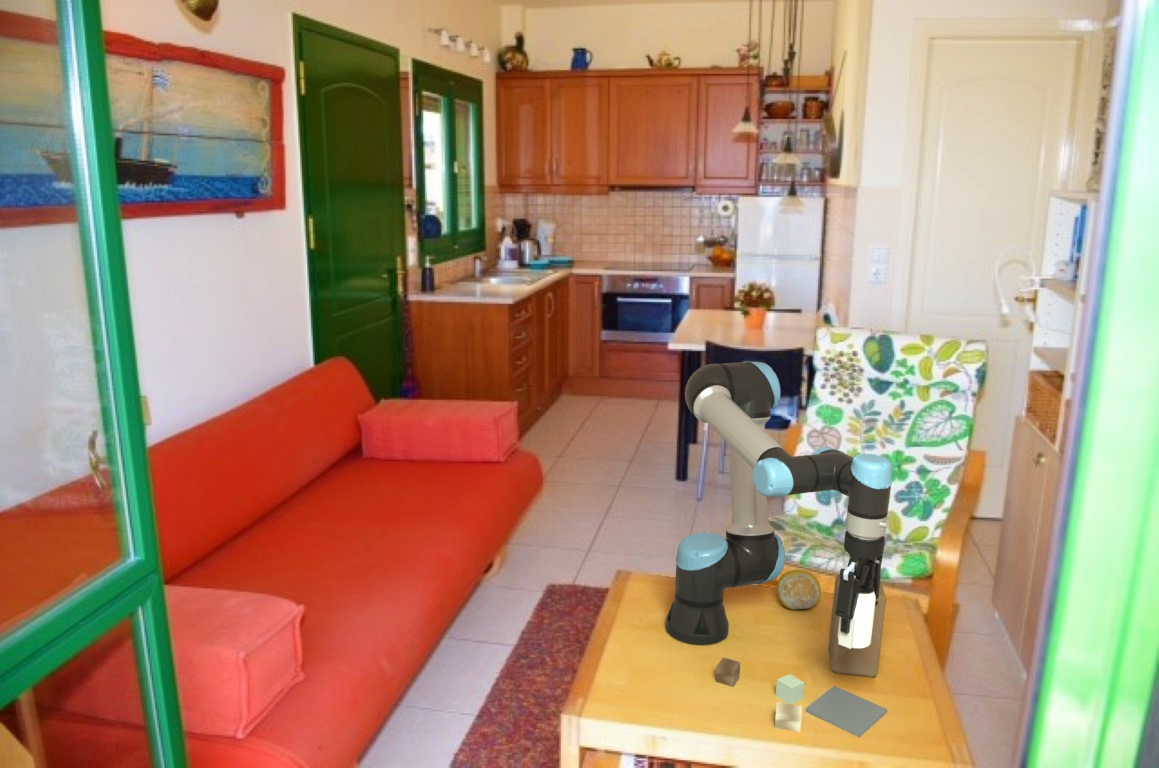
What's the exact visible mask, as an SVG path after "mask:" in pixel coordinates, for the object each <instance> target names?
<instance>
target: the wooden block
mask: <svg viewBox="0 0 1159 768" xmlns="http://www.w3.org/2000/svg"><path fill="white" fill-rule="evenodd" d="M855 580H858V579H855ZM858 581H859V580H858ZM839 584H840V573H838V574H837V575H836V577H835V580H834V590H833V600H832V601H833V602H832V609H831V619H830V629H829V632H830V633H829V640H828V649H827V650H828V656H829V663H830V669H831V671H832V672H834V673H837V674H847V675H854V676H861V677H862V676H863V677H868V678H869V677H870V678H875V677H877V675H878V671H879V664H880V663H879V662H880V656H881V646H882V637H883V629H884V628H883V627H884V621H885V613H886V612H885V610H886V603H887V598H886V594H885V591H884V587H883V583H882V581H881V579H880V587H879V597H878V599H875V601H878V604H877V606H875V609H874V619H873V628H872V636H871V643H870V645H869V646H868V647H866V648H864V649H853V648H851V649H849V648H847V647H844V646H842V645H840V644H838V641H839V640H838V627H839V616H837V615H835V612H836V605H837V598H838V591H839Z"/></svg>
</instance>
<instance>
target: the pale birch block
mask: <svg viewBox="0 0 1159 768" xmlns="http://www.w3.org/2000/svg"><path fill="white" fill-rule="evenodd" d="M802 717H803V706H802V705H798V704H787V703H786V702H785V703H784V702H778V701H777V702H776V706H775V717H774V718H775V719H774V729H780V730H784V731H785V730H786V731H791V732H797V733H801V727H802Z"/></svg>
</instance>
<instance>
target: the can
mask: <svg viewBox="0 0 1159 768" xmlns="http://www.w3.org/2000/svg"><path fill="white" fill-rule="evenodd" d="M875 599H876V596H875V593H874V587H873V586H867V585H863V586H861V589H860V593H859V597H858V600H857V604H856V608H855V612H854V616H853V617H855V618H856V619H855V629H854V638H853V649H864V648H866V647H868V646H869V645H870V643H871V636H872V628H873V619H874V609H875ZM840 622H841V617H839V627H838V640H839V632H840Z"/></svg>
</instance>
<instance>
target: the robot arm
mask: <svg viewBox="0 0 1159 768" xmlns="http://www.w3.org/2000/svg"><path fill="white" fill-rule="evenodd" d="M684 398H685V402H686V406H687V408H688V410H689V411H690V413H691V414H692V415H693V416H694V417H695V418H696V419H697V420H698V421H699V422H700V423H701V422H702V423H705V424H708V425H709V426H710V427H711V428H712V429H713V431H715V432H716V433H717V434H718V435H719V436H720V437H721V438H722V439H723V440H724V441H725V443H726V444H728V446H729V470H730V471H729V474H730V475H729V477H730V502H731V508H730V509H731V523H730V524H729V525H727V527H725V536H723V535H721V534H718V533H716V532H709V533H708V532H706V531H705V532H704V531H702V532H697V533H693V534H689V535H686V536H685V537H684V538H683V539H682V540H681V541H680V542H679V544H678V545H677V550H676V551H677V552H676V556H675V563H676V564H675V565H676V566H675V580H674V581H675V582H674V583H675V584H674V586H675V587H674V598H673V601H672V603H671V605H670V607H669V609H668V612H667V615H666V619H665V629H666V630H665V631H666V632H667V633H668V634H669V635H670V636H671V637H672V638H674V639H675V640H677V641H680V642H683V643H686V644H689V645H697V646H709V645H714V644H717V643H721V642H722V641H724V640H725V639H726V638H727V637H728V635H729V627H730V625H729V624H730V623H729V620H728V618H727V613H726V608H725V604H724V593H725V590H726V589H733V588H738V587H745V586H750V585H762V584H765V583H767V582H773V581H774V580H777V578H779V576H781V575H782V573H783V570H784V567H785V565H786V564H785V562H786V550H785V546H784V545H783V540H782V538H781V537H780V536H779V535H778V534H776V533H775V528H774V527H773V526H772V525H771V524H770V523H769V521H768V497H769V498H770V497H777V498H780V497H781V498H782V497H785V496H791V495H792V496H793V495H799V494H800V495H801V494H809V493H816V492H817V493H819V492H824V491H825V492H826V491H836V492H839V493H840V494H842V495H844V496H845V497H846V496H847V497H848V501H847V502H848V504H847V512H846V519H845V530H846V531H845V532H844V538H843V539H844V540H843V548H844V551H846V552H847V554H848V555H849V559H848V563H847V568H846V569H844V568H840V569H839V570H840V571H839V574H840V584H839V591H838V598H837V605H836V612H835V615H837V616H839V617H841V622H840V632H839V641H838V644H840V645H842V646H844V647H847V648H849V649H851V648H853V638H854V629H855V619H856V618H855V617H853V616H854V612H855V608H856V604H857V600H858V597H859V593H860V589H861V586H863V585H867V586H873V587H874V593H875V596H876V599H878V597H879V587H880V580H881V570H882V569H881V568H882V563H883V558H884V550H885V542H886V538H885V535H886V531H887V530H886V529H887V528H888V527H889V523H888V522H887V520H888V514H889V505H890V499H891V498H890V496H891V488H892V484H893V463H892V462H891V460H890V459H888V458H887V457H885V456H882V455H877V454H872V453H861V454H860V453H859V454H857V455H855V456H851V455H849V454H847V453H845V452H844V451H842V450H839V449H837V448H833V447H829V446H823V447H820V448H818V449H817V450H815V451H813V452H812V453H811V454H806V455H797V456H796V455H795V456H793V455H791V454H790V453H789V452H788V451H787V450H785V449H784V448H783V447H782V445H780V444H779V443H778V442H777V441H776V440H775V439H774V438H772V436H771V435H770V434H769V433H768V432H766V428H765V427H766V423H767V422H768V421H769V420H771V417H772V412H771V410H773V409H774V408H776V407H777V406H778V404H779V401H780V400H781V384H780V381H779V378H778V376H777V374H776V372H775V371H774V370H773V368H772V367H771V366H770V365H768V364H767V363H766V362H761V361H744V362H743V361H741V362H729V363H710V364H706V365H703V366H701V367H699V368H697V370H695V371H694V372H693V373H692V375H691V376H689V378H688V380H687V383H686V386H685V389H684ZM855 579H858V580H859V581H858V580H855ZM877 604H878V601H875V606H877Z"/></svg>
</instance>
